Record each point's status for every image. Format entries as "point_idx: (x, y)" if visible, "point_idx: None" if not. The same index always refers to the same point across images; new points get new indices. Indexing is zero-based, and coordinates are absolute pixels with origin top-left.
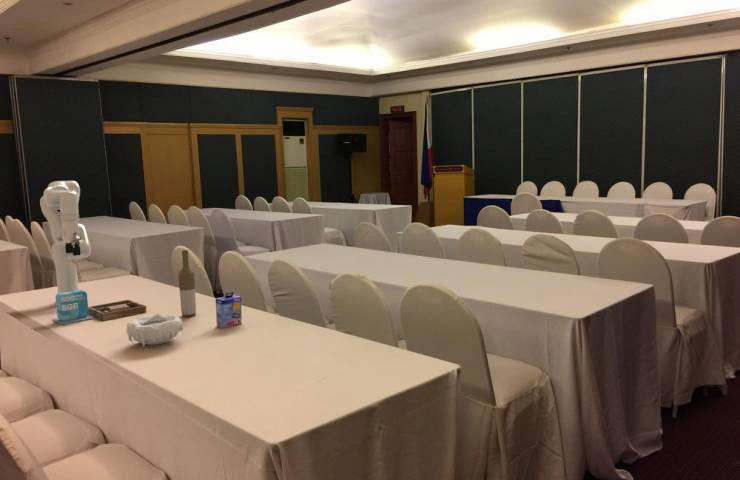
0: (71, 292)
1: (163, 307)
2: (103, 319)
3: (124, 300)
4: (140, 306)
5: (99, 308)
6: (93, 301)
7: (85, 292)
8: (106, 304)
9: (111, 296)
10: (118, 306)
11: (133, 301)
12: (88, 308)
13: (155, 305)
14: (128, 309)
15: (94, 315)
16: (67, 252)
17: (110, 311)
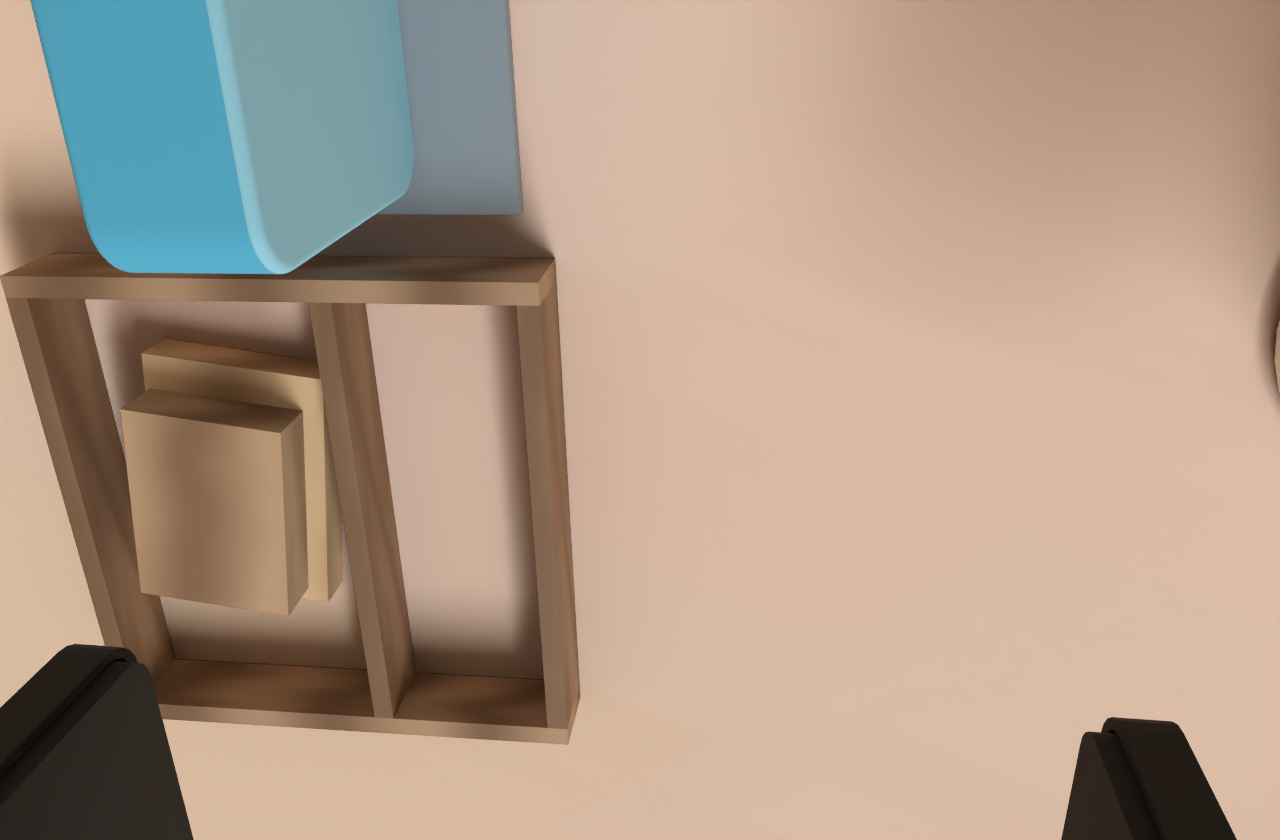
0: (98, 27)
1: (250, 831)
2: (53, 256)
3: (560, 699)
4: (229, 694)
5: (337, 356)
6: (1186, 546)
7: (104, 254)
8: (532, 501)
9: (1249, 776)
10: (214, 521)
11: (430, 731)
12: (506, 277)
13: (386, 830)
14: (79, 548)
15: (330, 258)
16: (1089, 778)
17: (162, 399)
